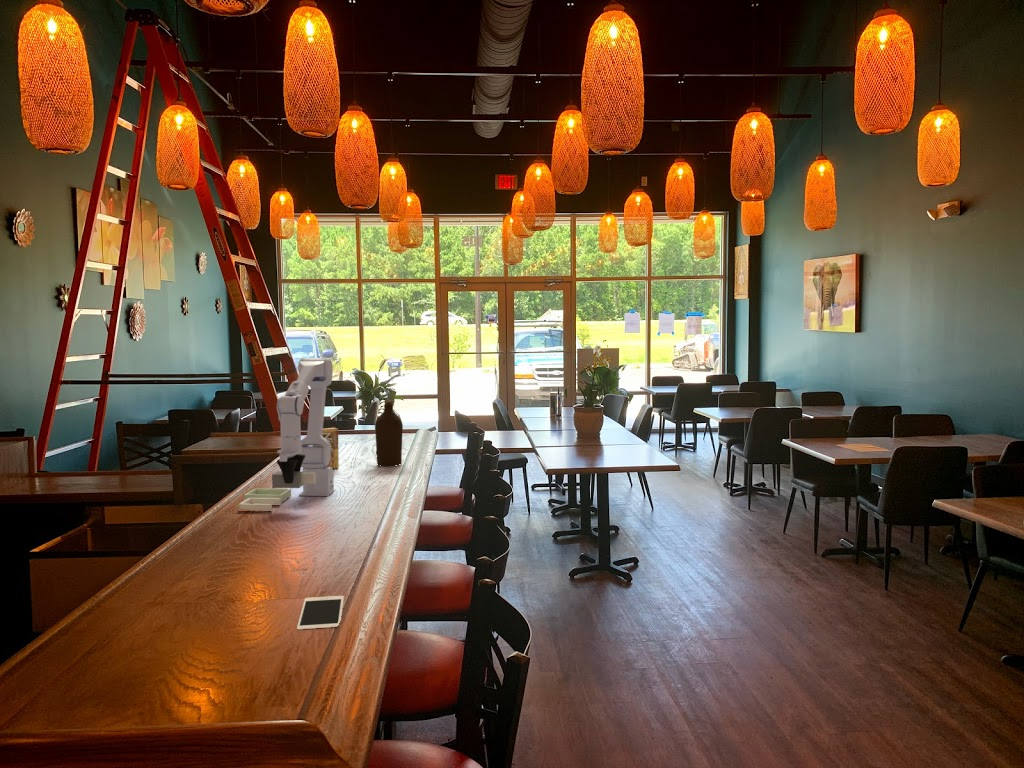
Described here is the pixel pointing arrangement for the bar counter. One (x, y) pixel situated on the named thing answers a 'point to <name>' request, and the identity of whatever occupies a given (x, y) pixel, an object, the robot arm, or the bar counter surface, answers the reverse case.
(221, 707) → the bar counter surface
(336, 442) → the candy box
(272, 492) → the tray
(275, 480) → the block on a stick
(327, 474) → the robot arm
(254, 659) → the bar counter surface
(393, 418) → the olive oil
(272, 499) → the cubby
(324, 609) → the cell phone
